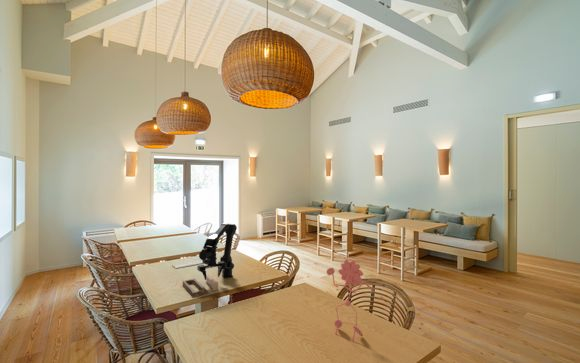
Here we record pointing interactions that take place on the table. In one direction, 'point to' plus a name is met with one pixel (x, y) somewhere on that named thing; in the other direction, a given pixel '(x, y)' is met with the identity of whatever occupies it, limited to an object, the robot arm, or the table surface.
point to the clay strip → (212, 282)
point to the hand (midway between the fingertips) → (212, 278)
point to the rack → (192, 292)
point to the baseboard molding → (187, 264)
